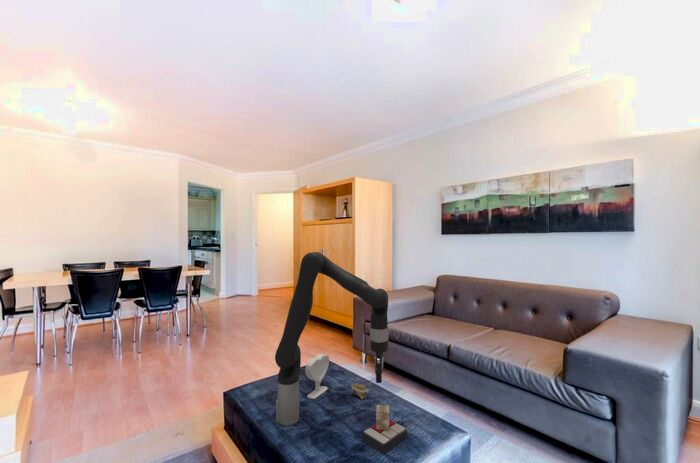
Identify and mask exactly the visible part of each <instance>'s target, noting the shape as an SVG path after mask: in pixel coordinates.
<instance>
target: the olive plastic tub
mask: <svg viewBox="0 0 700 463" xmlns="http://www.w3.org/2000/svg"><path fill="white" fill-rule="evenodd" d="M351 390H353V392H352V393H353V395H354V396H358V397H359V398H360V399H361V400H362V399H366V400H367V396H368V392H369V391H370V389H369V388H367V387H366V385H364V384H360V383H358V382H354V383H351Z"/></svg>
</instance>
